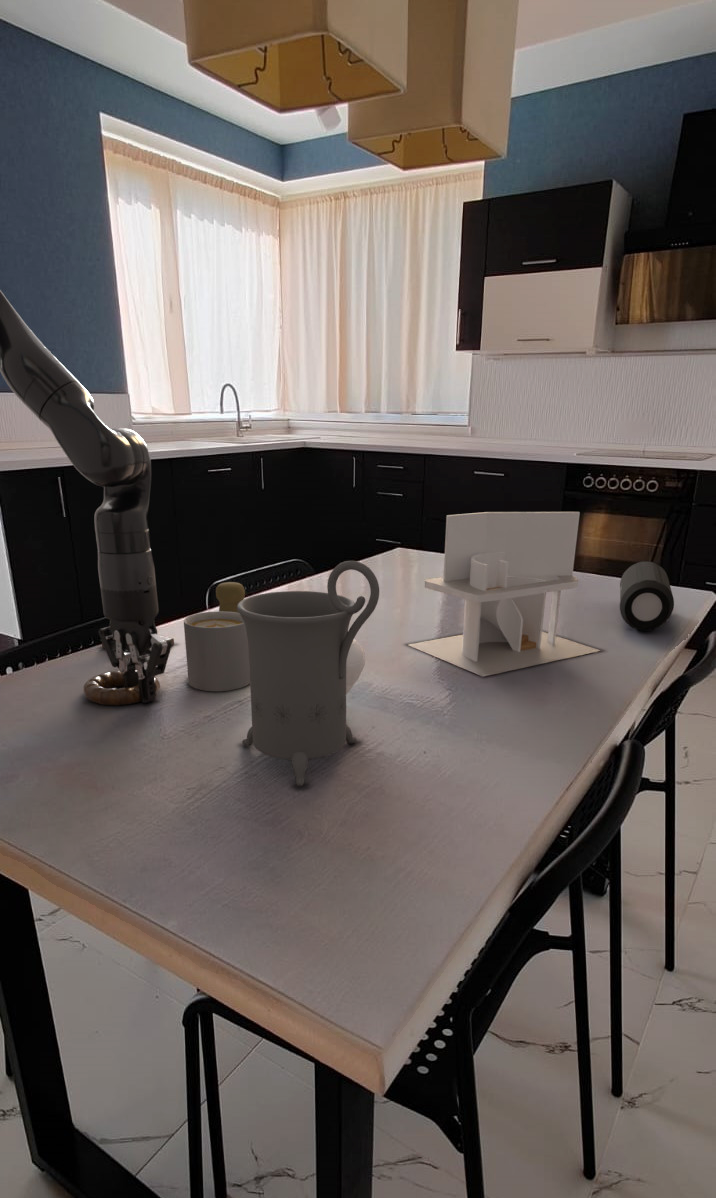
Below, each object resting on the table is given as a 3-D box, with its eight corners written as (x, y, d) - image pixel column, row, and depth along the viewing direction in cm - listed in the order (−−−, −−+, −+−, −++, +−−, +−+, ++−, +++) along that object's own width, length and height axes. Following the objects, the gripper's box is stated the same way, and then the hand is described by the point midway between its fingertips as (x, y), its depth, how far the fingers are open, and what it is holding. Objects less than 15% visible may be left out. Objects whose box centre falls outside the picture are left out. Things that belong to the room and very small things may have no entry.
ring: (70, 697, 115) (67, 681, 114) (128, 678, 123) (126, 663, 122) (116, 712, 109) (114, 697, 108) (174, 692, 117) (173, 677, 116)
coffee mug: (229, 695, 116) (225, 630, 112) (175, 685, 120) (170, 623, 116) (274, 669, 127) (272, 610, 123) (223, 661, 131) (220, 604, 127)
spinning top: (346, 719, 107) (346, 636, 103) (301, 709, 111) (300, 628, 106) (374, 703, 114) (375, 624, 109) (330, 693, 117) (330, 616, 112)
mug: (209, 766, 93) (193, 559, 83) (273, 725, 106) (266, 539, 96) (347, 799, 86) (348, 576, 76) (399, 751, 98) (405, 552, 88)
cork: (210, 645, 140) (206, 585, 136) (225, 636, 145) (222, 578, 141) (241, 648, 138) (238, 587, 134) (255, 639, 144) (252, 580, 139)
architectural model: (482, 676, 125) (494, 529, 116) (406, 644, 141) (411, 513, 132) (601, 650, 139) (619, 517, 130) (519, 624, 155) (530, 504, 146)
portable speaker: (617, 602, 173) (623, 557, 169) (663, 606, 170) (671, 560, 166) (616, 631, 151) (623, 581, 147) (670, 636, 148) (679, 584, 144)
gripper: (74, 580, 108) (89, 696, 115) (139, 594, 101) (152, 717, 107) (117, 572, 114) (130, 682, 120) (183, 584, 106) (192, 701, 113)
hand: (140, 698), depth 114 cm, fingers closed on ring, 2 cm apart
